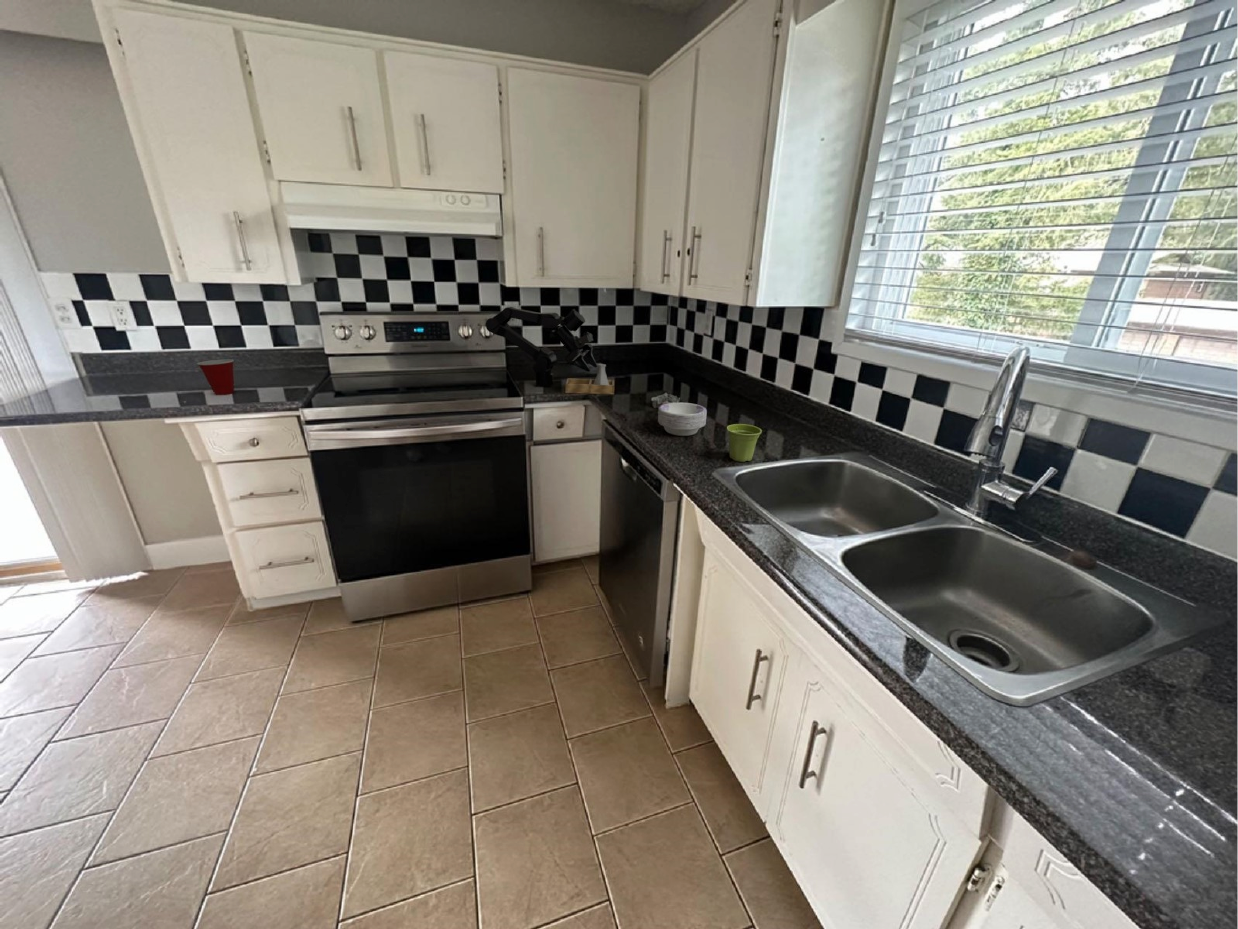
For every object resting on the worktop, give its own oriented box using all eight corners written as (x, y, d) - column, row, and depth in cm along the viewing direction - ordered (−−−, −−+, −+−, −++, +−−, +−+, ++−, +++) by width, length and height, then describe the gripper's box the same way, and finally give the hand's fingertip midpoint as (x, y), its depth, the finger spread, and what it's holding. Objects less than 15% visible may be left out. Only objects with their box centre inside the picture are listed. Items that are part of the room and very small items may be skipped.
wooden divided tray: (565, 392, 201) (565, 384, 200) (567, 386, 211) (567, 378, 209) (614, 394, 202) (614, 385, 200) (613, 388, 211) (614, 379, 210)
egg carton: (665, 410, 183) (666, 400, 181) (648, 406, 187) (649, 396, 185) (681, 405, 190) (682, 394, 189) (665, 401, 195) (666, 391, 193)
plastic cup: (233, 387, 191) (224, 356, 186) (248, 392, 186) (239, 359, 182) (199, 393, 182) (190, 360, 178) (214, 398, 177) (205, 364, 173)
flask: (613, 389, 206) (614, 365, 202) (599, 391, 202) (600, 367, 198) (603, 385, 211) (603, 362, 207) (589, 388, 207) (589, 363, 203)
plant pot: (720, 461, 138) (724, 431, 135) (726, 450, 147) (729, 422, 143) (755, 466, 135) (759, 436, 132) (759, 455, 144) (763, 426, 140)
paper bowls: (654, 424, 167) (655, 401, 164) (698, 424, 169) (701, 401, 166) (660, 439, 153) (662, 414, 150) (709, 439, 155) (712, 415, 152)
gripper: (573, 328, 190) (600, 360, 192) (588, 323, 207) (613, 352, 209) (554, 347, 195) (580, 378, 197) (570, 340, 212) (594, 369, 214)
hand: (593, 368), depth 204 cm, fingers open, 9 cm apart
